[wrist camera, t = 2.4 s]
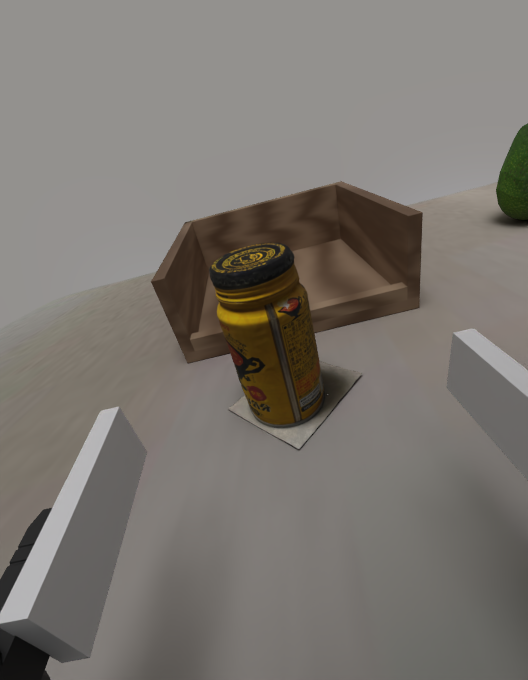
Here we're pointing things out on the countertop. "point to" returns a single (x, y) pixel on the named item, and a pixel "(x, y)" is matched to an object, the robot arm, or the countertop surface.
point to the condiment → (274, 343)
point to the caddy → (299, 260)
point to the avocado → (515, 178)
